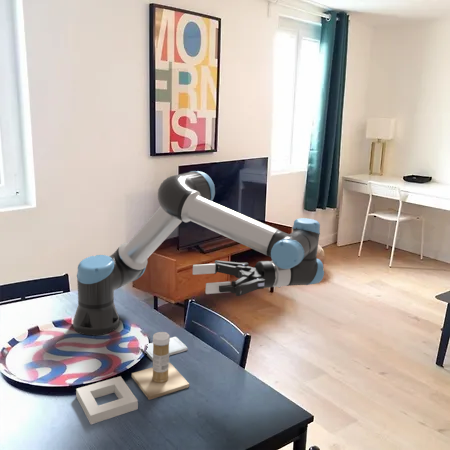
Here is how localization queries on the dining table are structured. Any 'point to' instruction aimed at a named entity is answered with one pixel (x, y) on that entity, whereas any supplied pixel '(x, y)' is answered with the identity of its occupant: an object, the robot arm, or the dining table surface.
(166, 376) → the sprinkles bottle
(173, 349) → the hard drive
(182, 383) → the birch board
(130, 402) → the socket block
